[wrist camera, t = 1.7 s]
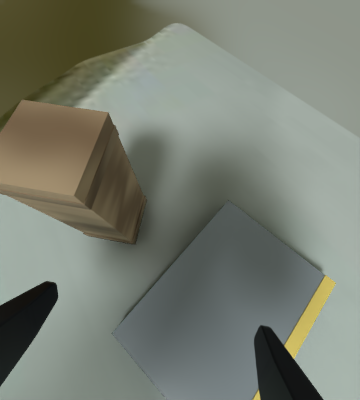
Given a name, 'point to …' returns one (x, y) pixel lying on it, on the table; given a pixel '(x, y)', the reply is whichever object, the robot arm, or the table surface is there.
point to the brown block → (71, 169)
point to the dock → (222, 310)
